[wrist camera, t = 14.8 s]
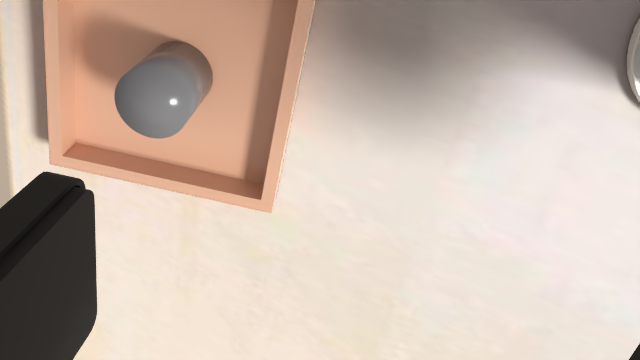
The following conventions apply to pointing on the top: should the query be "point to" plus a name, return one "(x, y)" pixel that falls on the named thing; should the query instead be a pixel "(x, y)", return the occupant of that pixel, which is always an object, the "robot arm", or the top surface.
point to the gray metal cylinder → (164, 89)
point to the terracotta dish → (212, 114)
